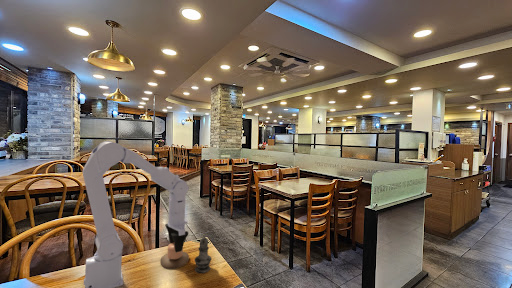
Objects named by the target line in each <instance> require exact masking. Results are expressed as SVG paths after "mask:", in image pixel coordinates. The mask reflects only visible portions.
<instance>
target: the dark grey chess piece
mask: <svg viewBox="0 0 512 288" xmlns="http://www.w3.org/2000/svg"><path fill="white" fill-rule="evenodd" d="M208 253H209V239H208V238H206V236H205V235H203V237H202V238H201V239H200V240H199V247H198V255H197V256H196V257H195V258H194V262H195V269H194V272H196V273H198V274H206V273H208V272H209V271H211V266H210V264H211V261H212V257H211V256H210V255H209V254H208Z"/></svg>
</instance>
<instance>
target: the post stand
mask: <svg viewBox="0 0 512 288" xmlns="http://www.w3.org/2000/svg"><path fill="white" fill-rule="evenodd" d="M189 260H190V255H189V254H188V253H187V252H185V251H183V255H182V257H180V258H178V259H169V258H168V257H167V253H165V254H163V255H162V256H161V258H160V260H159V261H160V266H161V267H162V268H164V269H170V270H171V269H178V268H181V267H184V266H186V264H188V262H189Z"/></svg>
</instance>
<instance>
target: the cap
mask: <svg viewBox="0 0 512 288" xmlns="http://www.w3.org/2000/svg"><path fill="white" fill-rule="evenodd" d="M183 252H184V247H183V248H182V251H180V252H175V247H174V243H169V244H168V245H167V252H166V254H167V257H168V258H169V259H178V258H180V257H182V255H183Z"/></svg>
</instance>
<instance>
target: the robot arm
mask: <svg viewBox="0 0 512 288" xmlns="http://www.w3.org/2000/svg"><path fill="white" fill-rule="evenodd" d="M120 162H121V163H122V164H131V165H133V166H135V167H137V168H138V169H141V170H142V171H144V172H145V173H147V174H149V175H150V179H151V181H152V182H154V183H155V184H157V185H158V186H160V187H162V188H163V189H165V190H167V191H168V192H169V196H168V197H169V199H168V219H167V220H168V222H167V223H165V224H164V226H165V228H166V230H167V235H168V241H169V244H171V243H174V247H175V252H180V251H182V248H183V249H184V244H185V241H186V239H187V237H188V236H189V231H188V230H187V231H186V228H185V226H186V224H188V223H189V222H188V220H187V219H185V215H186V196H187V193H188V191H190V190H189V188H190V187H189V185H188V183H187V181H186V180H184V179H180V175H178V174H176V175H175V174H174V173H173V172H172V171H170V168H169V167H166V166H165V167H164V166H155V165H154V164H152V162H149V161H148V160H147V159H145V158H144V157H142V156H141V155H140V154H138V153H137V152H135V151H133V150H131V149H129V148H127V147H124V146H123V145H121V144H119V143H117V142H114V141H111V140H107V141H102V142H100V143H99V144H98V145H97V146H95V147H94V148H93V149H92V150H91V153H90V155H89V157H88V159H87V160H86V163H85V165H84V166H83V168H82V177H83V181H84V185H85V189H86V193H87V197H88V201H89V205H90V209H91V210H90V211H91V215H92V217H93V222H94V227H95V231H96V236H95V239H94V243H95V245H96V249H97V250H96V252H95V253H94V255H93V256H91V257H88V258H86V259H85V272H84V278H83V286H84V288H118V287H121V286H123V285H124V279H123V278H124V277H123V273H122V272H123V271H122V260H123V249H124V243H123V241H122V240H121V238H120V236H119V233H118V231H117V230H116V228H115V224H114V219H113V214H112V211H111V206H110V202H109V197H108V193H107V189H106V184H105V180H104V175H105V174H106V172H108V171H109V169H110V168H111V167H113V166H115V165H117V164H118V163H120Z"/></svg>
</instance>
